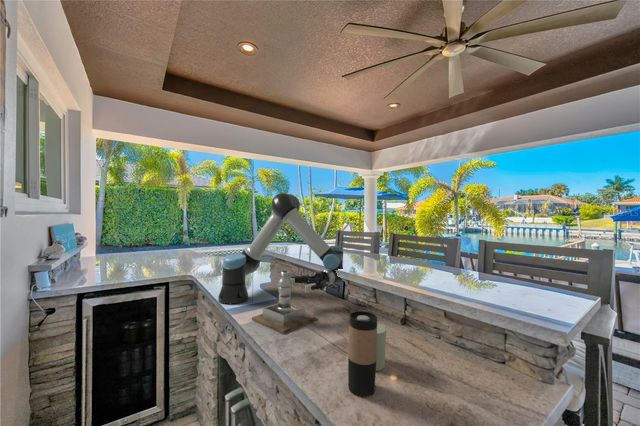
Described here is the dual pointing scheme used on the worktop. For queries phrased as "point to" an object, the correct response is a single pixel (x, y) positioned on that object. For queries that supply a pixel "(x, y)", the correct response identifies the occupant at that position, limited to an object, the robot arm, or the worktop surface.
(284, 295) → the plastic bottle
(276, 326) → the board
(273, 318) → the grey square tray
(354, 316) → the travel mug
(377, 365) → the can
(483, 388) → the worktop surface
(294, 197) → the robot arm
